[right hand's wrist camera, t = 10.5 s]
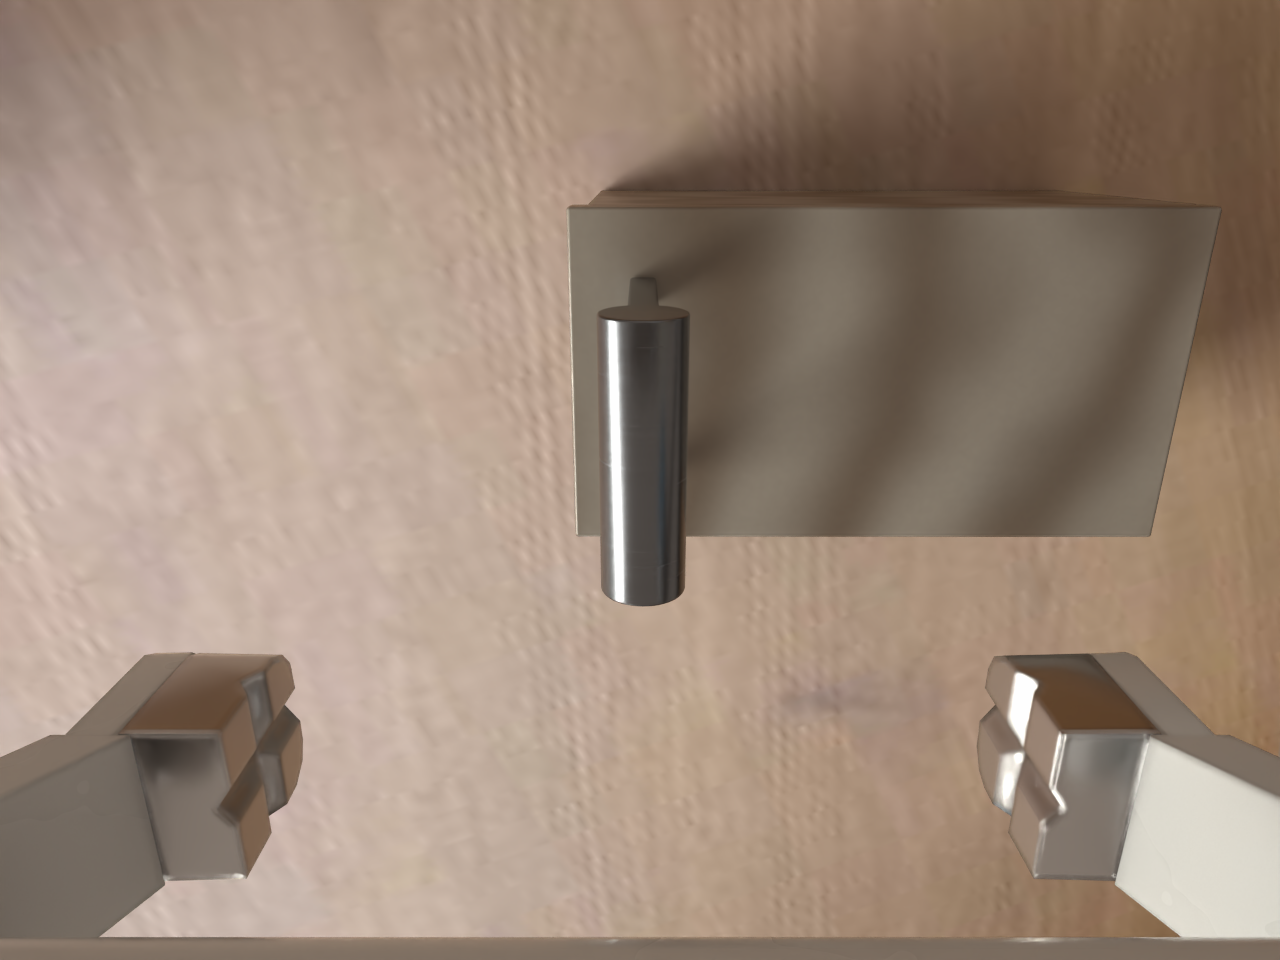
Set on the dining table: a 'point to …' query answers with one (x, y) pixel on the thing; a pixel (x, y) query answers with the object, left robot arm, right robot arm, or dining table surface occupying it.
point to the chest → (864, 198)
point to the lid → (873, 372)
